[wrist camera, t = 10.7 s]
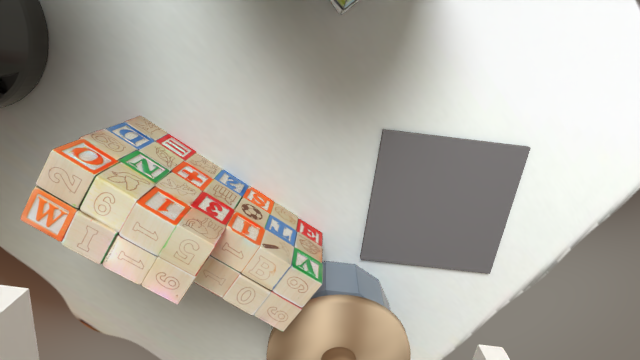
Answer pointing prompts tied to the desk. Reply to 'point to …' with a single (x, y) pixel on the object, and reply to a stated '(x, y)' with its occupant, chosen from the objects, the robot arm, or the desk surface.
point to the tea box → (343, 5)
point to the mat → (441, 200)
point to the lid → (341, 332)
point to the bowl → (350, 283)
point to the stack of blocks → (175, 222)
